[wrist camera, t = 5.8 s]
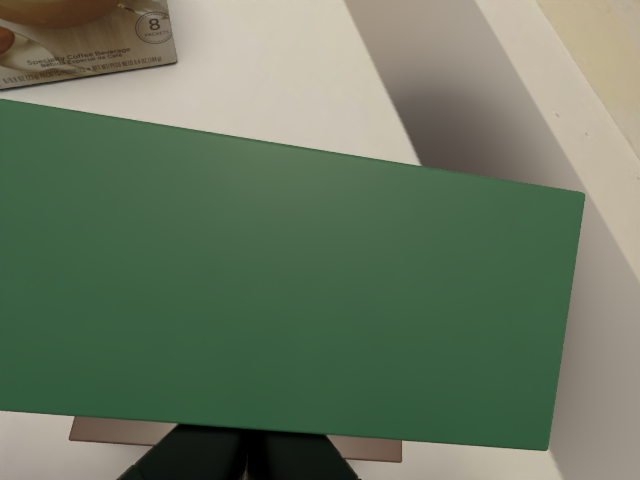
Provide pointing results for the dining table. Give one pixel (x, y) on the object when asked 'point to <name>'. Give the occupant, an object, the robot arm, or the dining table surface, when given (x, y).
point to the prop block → (155, 431)
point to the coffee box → (81, 38)
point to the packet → (275, 285)
